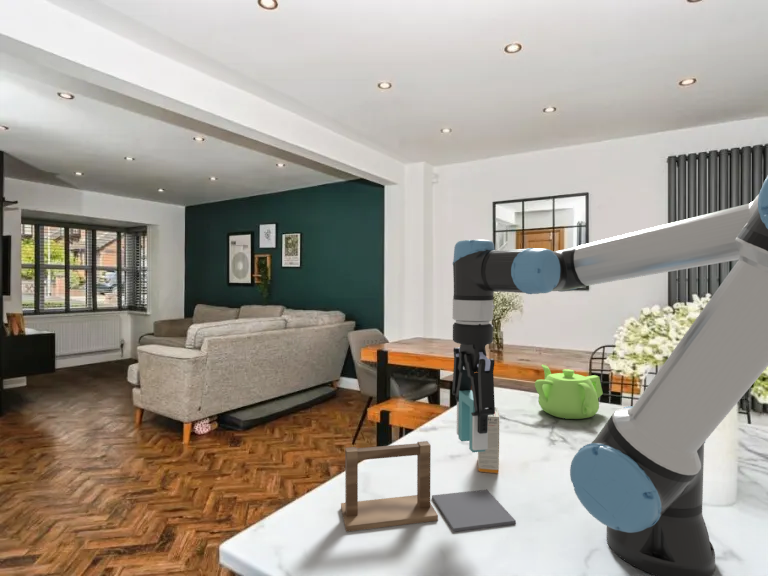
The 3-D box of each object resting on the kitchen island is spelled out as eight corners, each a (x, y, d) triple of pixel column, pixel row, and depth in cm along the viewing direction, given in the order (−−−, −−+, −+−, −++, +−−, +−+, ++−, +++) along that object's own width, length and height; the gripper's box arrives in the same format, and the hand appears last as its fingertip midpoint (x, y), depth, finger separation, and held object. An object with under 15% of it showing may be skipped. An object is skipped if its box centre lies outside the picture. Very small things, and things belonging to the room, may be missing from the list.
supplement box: (499, 474, 101) (500, 417, 100) (478, 472, 102) (478, 415, 101) (497, 459, 109) (498, 406, 109) (477, 457, 110) (478, 405, 109)
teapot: (595, 426, 132) (595, 379, 132) (527, 415, 143) (527, 371, 143) (602, 410, 148) (603, 367, 148) (541, 401, 159) (541, 361, 158)
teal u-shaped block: (485, 451, 82) (486, 399, 82) (472, 452, 81) (473, 400, 81) (470, 437, 89) (470, 390, 88) (458, 438, 88) (459, 390, 88)
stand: (437, 520, 82) (438, 450, 81) (346, 531, 78) (346, 458, 78) (424, 499, 90) (425, 435, 89) (341, 508, 86) (340, 442, 86)
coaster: (515, 523, 81) (515, 520, 81) (453, 531, 78) (453, 528, 78) (486, 492, 92) (486, 489, 92) (431, 498, 90) (431, 495, 90)
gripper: (517, 328, 75) (515, 461, 76) (470, 316, 95) (469, 422, 95) (476, 328, 74) (474, 465, 74) (436, 317, 93) (435, 425, 94)
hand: (471, 441), depth 85 cm, fingers closed on teal u-shaped block, 7 cm apart
